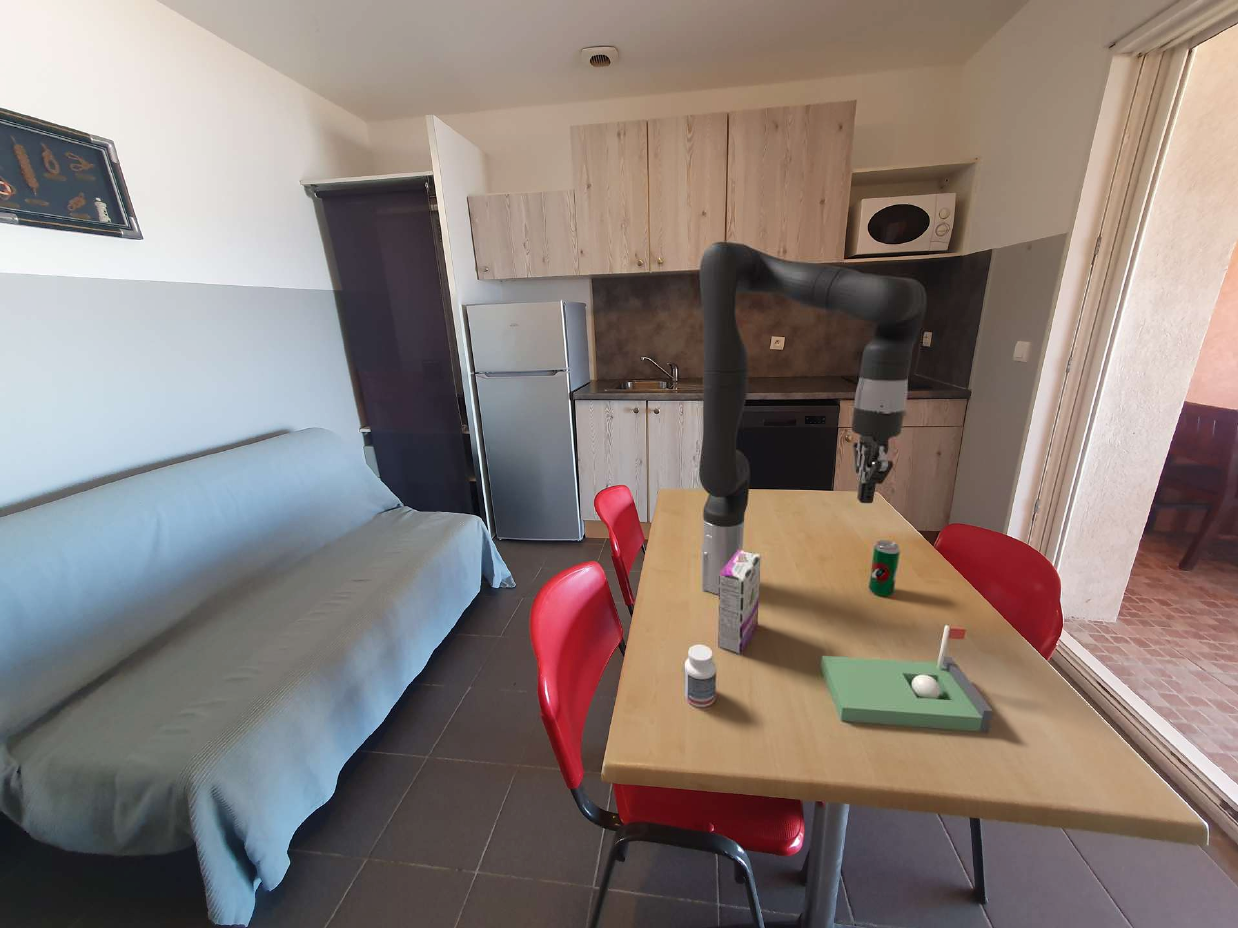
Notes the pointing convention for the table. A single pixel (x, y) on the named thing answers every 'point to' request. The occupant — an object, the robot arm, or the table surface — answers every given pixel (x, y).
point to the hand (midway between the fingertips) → (864, 501)
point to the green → (906, 691)
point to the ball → (925, 687)
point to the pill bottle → (700, 676)
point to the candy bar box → (738, 600)
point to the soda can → (884, 568)
